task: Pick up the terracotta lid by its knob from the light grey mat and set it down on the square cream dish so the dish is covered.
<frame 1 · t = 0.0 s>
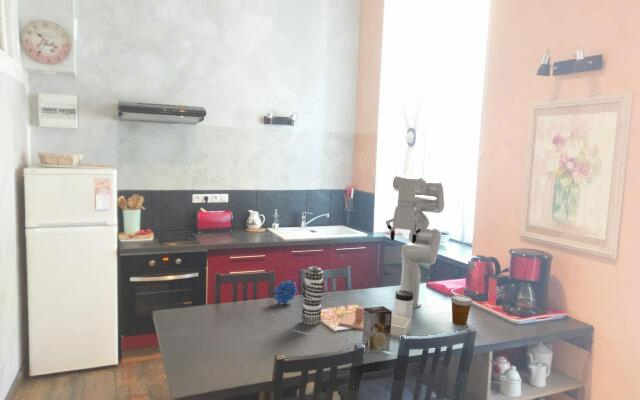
hand: (402, 241, 216), 37 cm above the table, tool pointing down, fingers open, 9 cm apart
jar: (402, 317, 222), on the table
dish: (394, 331, 205), on the table
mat: (359, 324, 211), on the table
disposable coffee cup: (459, 323, 220), on the table
lid: (359, 322, 211), point 1 cm above the table, touching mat
grapes: (284, 303, 233), on the table
coffee box: (375, 349, 186), on the table
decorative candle: (311, 323, 209), on the table
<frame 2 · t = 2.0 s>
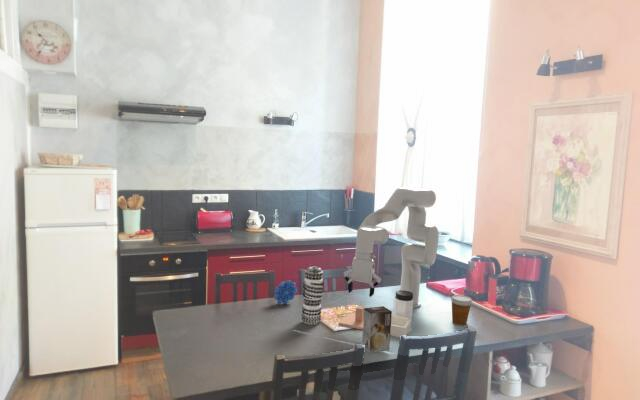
hand: (360, 293, 209), 14 cm above the table, tool pointing down, fingers open, 9 cm apart
nothing on the table moved.
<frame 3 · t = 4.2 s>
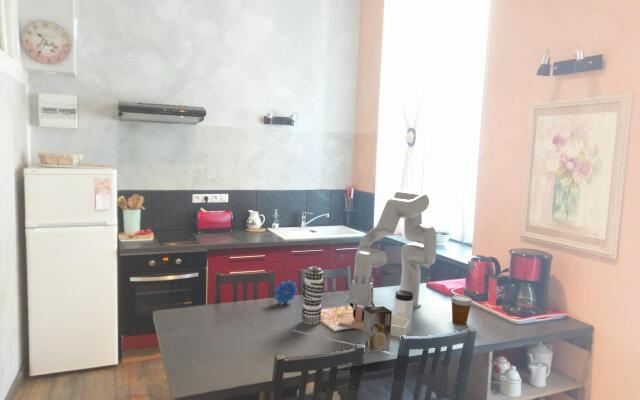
hand: (359, 318, 211), 2 cm above the table, tool pointing down, fingers closed on lid, 3 cm apart
lid: (359, 322, 211), point 1 cm above the table, touching gripper, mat
everything else where it was.
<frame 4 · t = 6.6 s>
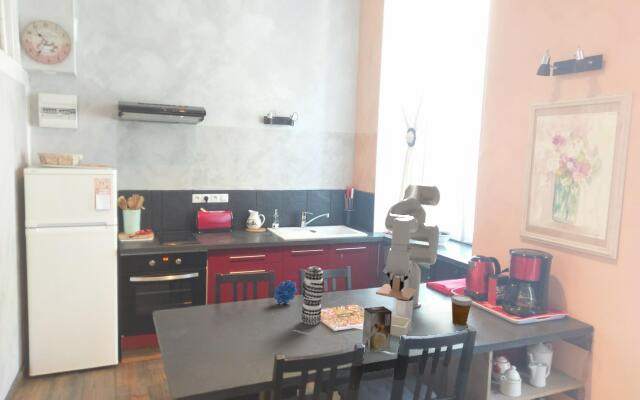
hand: (396, 288, 203), 19 cm above the table, tool pointing down, fingers closed on lid, 3 cm apart
lid: (396, 292, 203), point 17 cm above the table, touching gripper
everything else where it was.
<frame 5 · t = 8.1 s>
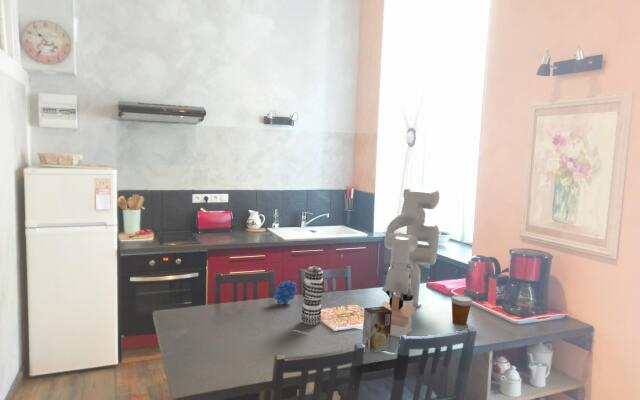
hand: (395, 307, 203), 11 cm above the table, tool pointing down, fingers closed on lid, 3 cm apart
lid: (395, 311, 203), point 9 cm above the table, touching gripper
everything else where it was.
when the fingers open (8 cm above the table, at t = 9.4 s): lid drops 1 cm, resting on dish.
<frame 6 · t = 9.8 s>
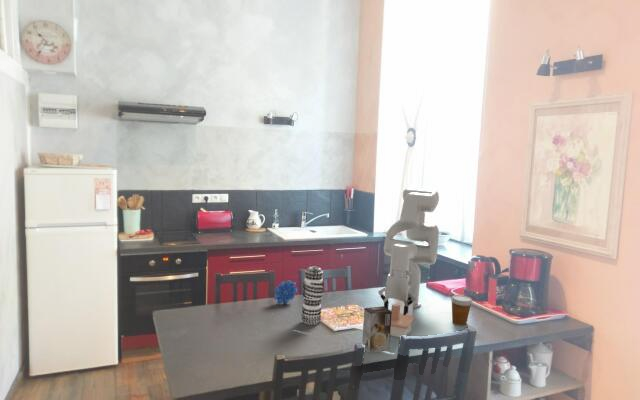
hand: (395, 312, 204), 9 cm above the table, tool pointing down, fingers open, 7 cm apart
lid: (394, 320, 204), point 5 cm above the table, touching dish
everything else where it was.
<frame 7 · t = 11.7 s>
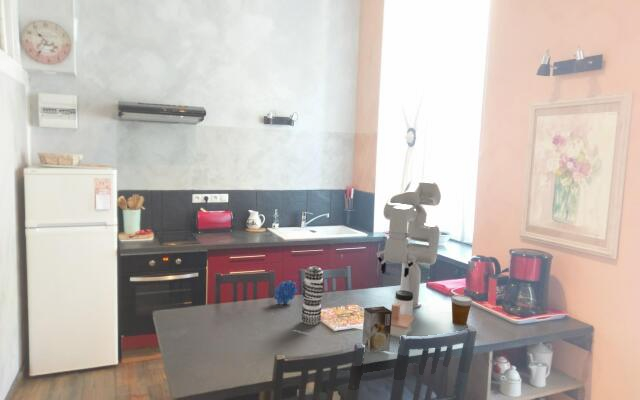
hand: (394, 274, 204), 25 cm above the table, tool pointing down, fingers open, 9 cm apart
nothing on the table moved.
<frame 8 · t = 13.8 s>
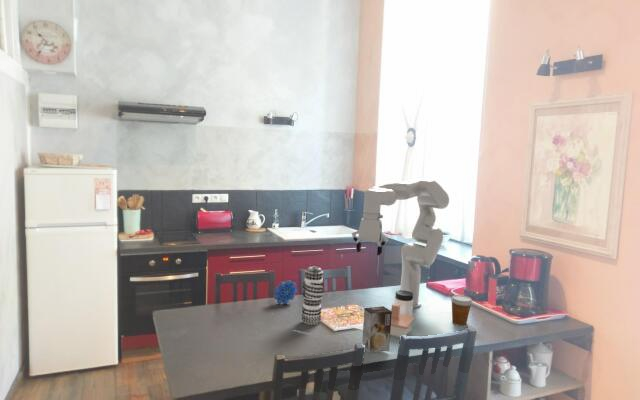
hand: (368, 253, 217), 30 cm above the table, tool pointing down, fingers open, 9 cm apart
nothing on the table moved.
at the end: lid 0.0 cm off-centre on the dish, point 5.0 cm above the dish's base; lid tilted 0°; the gripper is holding nothing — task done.
